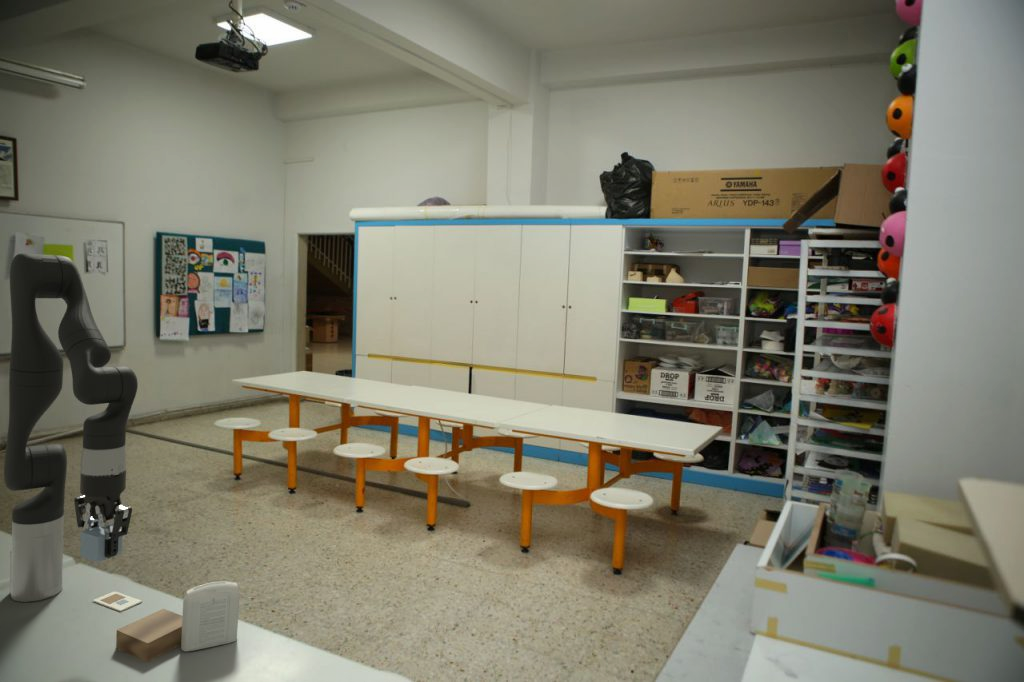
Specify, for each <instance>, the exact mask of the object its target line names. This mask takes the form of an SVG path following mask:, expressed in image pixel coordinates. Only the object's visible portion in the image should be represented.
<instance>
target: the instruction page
mask: <svg viewBox="0 0 1024 682" xmlns="http://www.w3.org/2000/svg"><path fill="white" fill-rule="evenodd" d="M92 602H93V603H96V604H99V605H101V606H104V607H106V608H109V609H113V610H115V611H117V612H120V613H121V612H124V611H126V610H127V609H130V608H132V607H134V606H137V605H140V604H141V603H143V600H141V599H138V598H135V597H132V596H129V595H126V594H124V593H121V592H119V591H115V590H114V591H112V592H110V593H107V594H105V595H101V596H99V597H97V598H95V599H92Z"/></svg>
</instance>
